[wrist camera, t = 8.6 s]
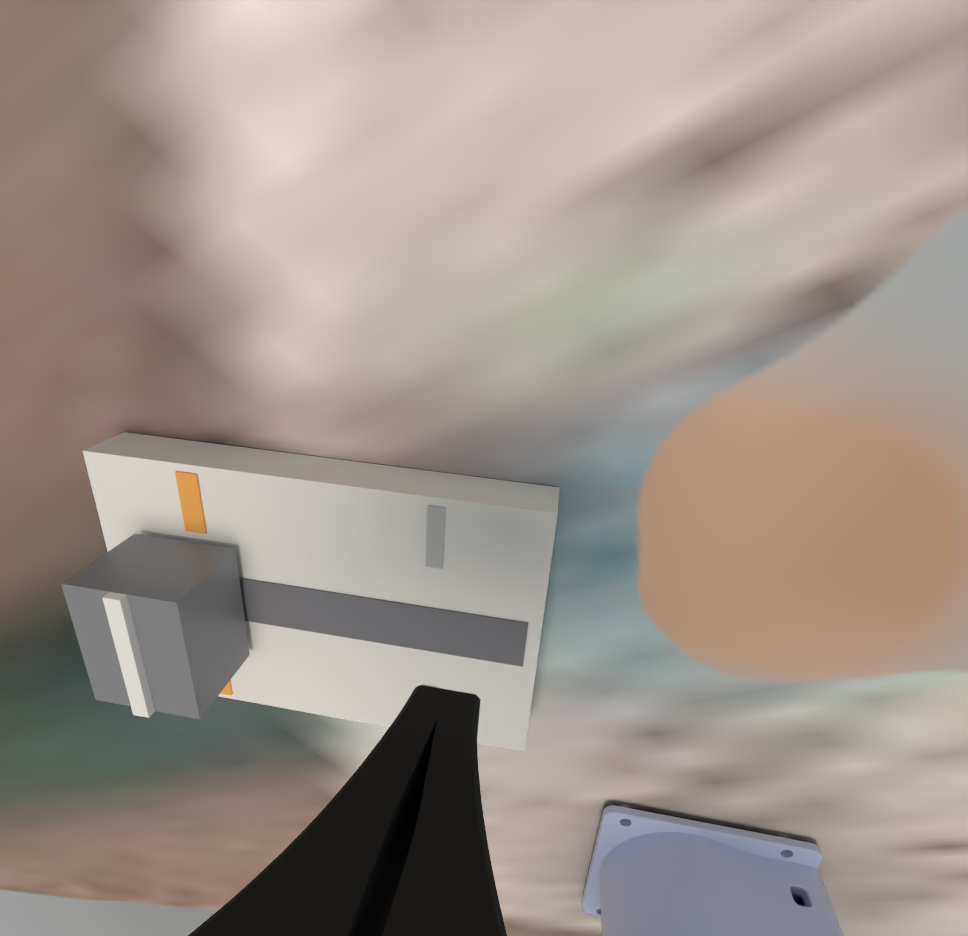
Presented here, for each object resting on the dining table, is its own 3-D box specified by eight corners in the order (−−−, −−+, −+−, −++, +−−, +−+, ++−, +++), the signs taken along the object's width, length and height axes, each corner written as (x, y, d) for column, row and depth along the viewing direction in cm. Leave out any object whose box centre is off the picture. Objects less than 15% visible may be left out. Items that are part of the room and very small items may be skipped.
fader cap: (235, 548, 20) (170, 608, 17) (249, 654, 22) (194, 726, 19) (134, 533, 20) (53, 589, 17) (158, 639, 22) (88, 706, 19)
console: (559, 487, 19) (557, 515, 18) (528, 712, 24) (524, 754, 22) (124, 432, 21) (80, 451, 19) (171, 650, 26) (138, 683, 24)
